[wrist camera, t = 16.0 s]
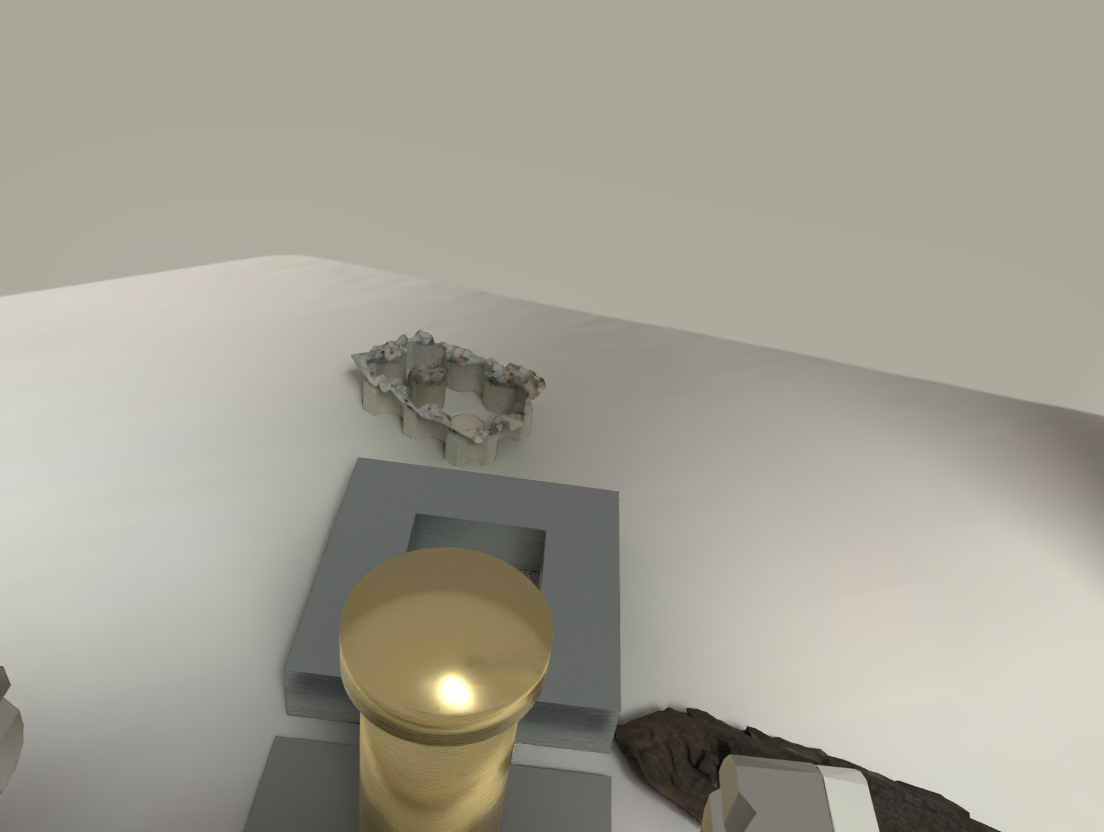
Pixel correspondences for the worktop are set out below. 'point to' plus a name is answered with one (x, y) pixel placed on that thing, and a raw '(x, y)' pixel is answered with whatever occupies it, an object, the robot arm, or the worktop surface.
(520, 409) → the egg carton
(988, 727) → the worktop surface
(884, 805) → the wood
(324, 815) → the mat
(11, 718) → the robot arm
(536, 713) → the housing
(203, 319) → the worktop surface
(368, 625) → the round headed pin
